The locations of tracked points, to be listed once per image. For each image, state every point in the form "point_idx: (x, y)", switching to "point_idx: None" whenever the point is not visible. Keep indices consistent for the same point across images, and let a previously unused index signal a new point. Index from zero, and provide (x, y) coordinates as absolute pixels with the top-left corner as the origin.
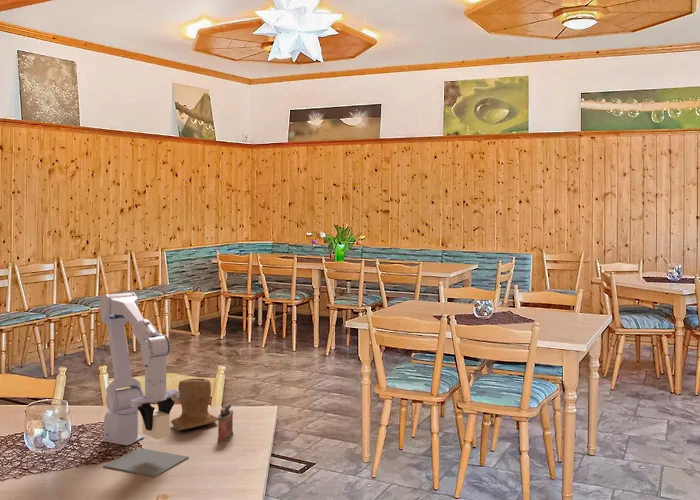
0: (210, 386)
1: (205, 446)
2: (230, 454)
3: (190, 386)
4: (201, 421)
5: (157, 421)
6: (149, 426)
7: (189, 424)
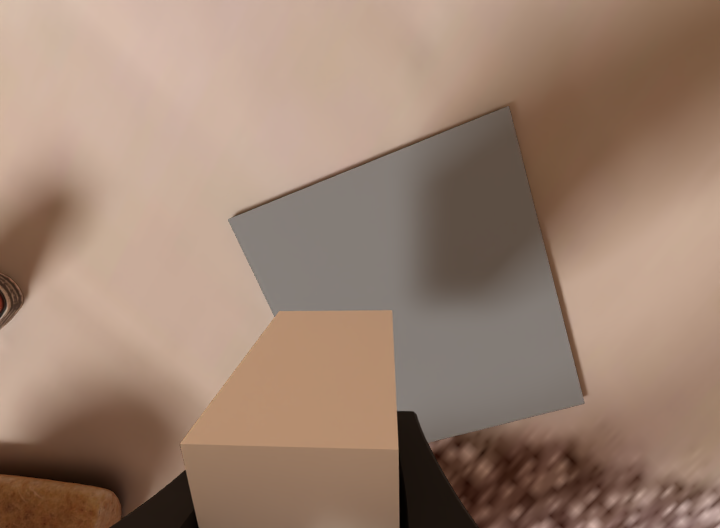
0: None
1: (96, 290)
2: (32, 104)
3: None
4: None
5: (390, 407)
6: (425, 439)
7: (54, 500)
